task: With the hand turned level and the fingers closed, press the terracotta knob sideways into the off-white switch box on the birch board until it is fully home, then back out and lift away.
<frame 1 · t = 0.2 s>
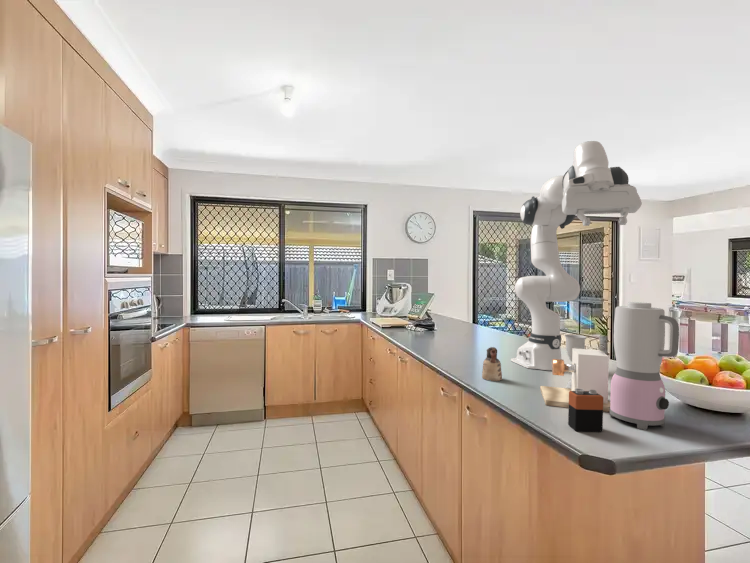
hand: (605, 224, 108), 54 cm above the worktop, tool tilted 25°, fingers open, 8 cm apart
knob: (569, 368, 121), point 10 cm above the worktop, slide at 0.0 cm
blender: (642, 424, 102), on the worktop
chalice: (574, 387, 135), on the worktop
switch box: (589, 374, 119), on the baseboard, point 8 cm above the worktop
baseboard: (574, 400, 120), on the worktop
figurine: (491, 379, 144), on the worktop
battery: (584, 429, 98), on the worktop
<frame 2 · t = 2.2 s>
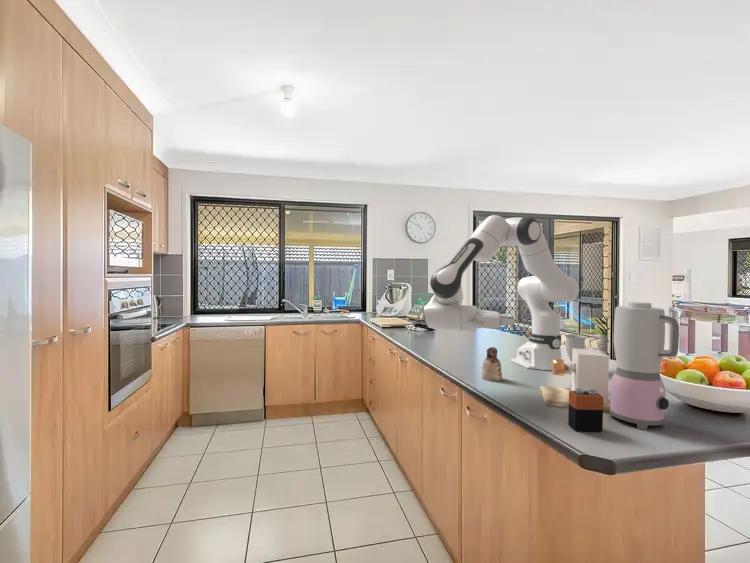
hand: (514, 320, 125), 24 cm above the worktop, tool horizontal, fingers open, 6 cm apart
nothing on the worktop moved.
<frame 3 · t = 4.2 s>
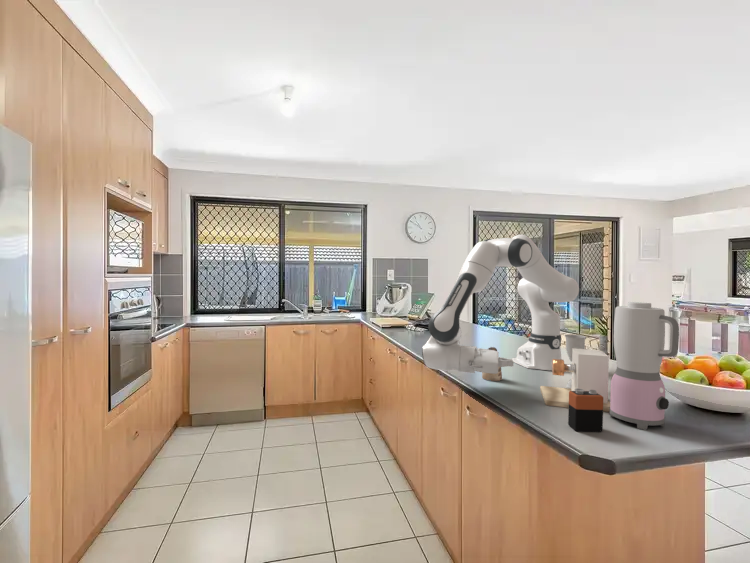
hand: (513, 363, 126), 10 cm above the worktop, tool horizontal, fingers closed
nothing on the worktop moved.
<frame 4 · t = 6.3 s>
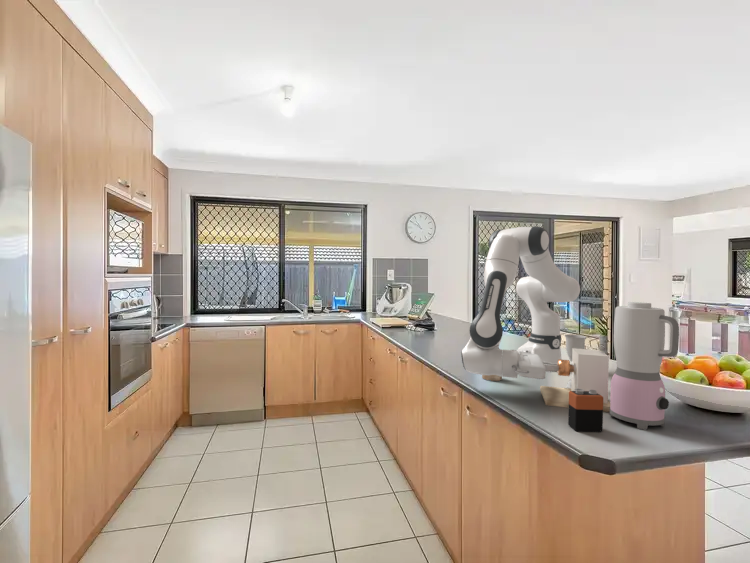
hand: (558, 367, 122), 10 cm above the worktop, tool horizontal, fingers closed, pressing on knob
knob: (574, 368, 120), point 10 cm above the worktop, slide at 1.6 cm, touching gripper
everything else where it was.
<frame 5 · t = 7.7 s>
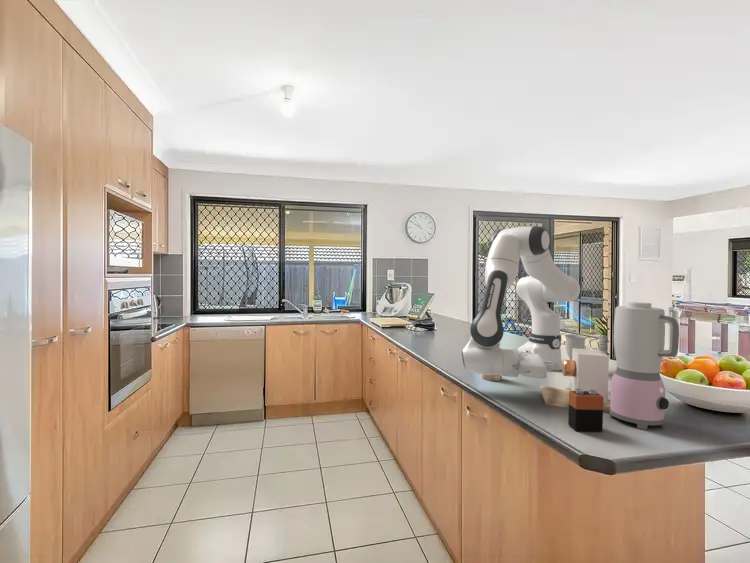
hand: (559, 367, 121), 10 cm above the worktop, tool horizontal, fingers closed
knob: (580, 369, 120), point 10 cm above the worktop, slide at 3.1 cm
everything else where it was.
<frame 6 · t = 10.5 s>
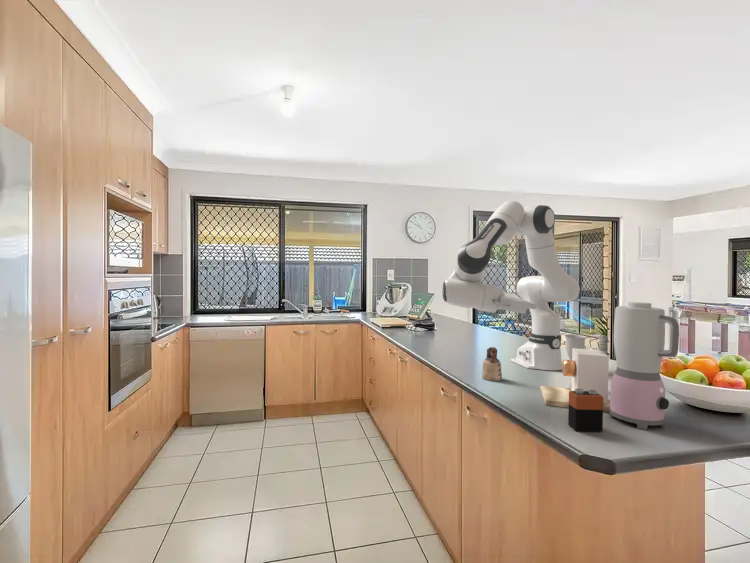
hand: (535, 306, 124), 29 cm above the worktop, tool horizontal, fingers closed
nothing on the worktop moved.
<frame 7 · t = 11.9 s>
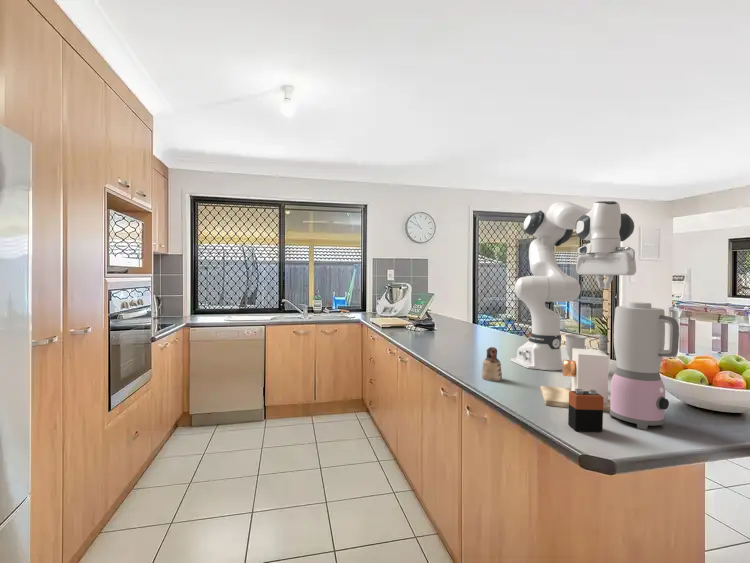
hand: (603, 288, 132), 35 cm above the worktop, tool pointing down, fingers closed
nothing on the worktop moved.
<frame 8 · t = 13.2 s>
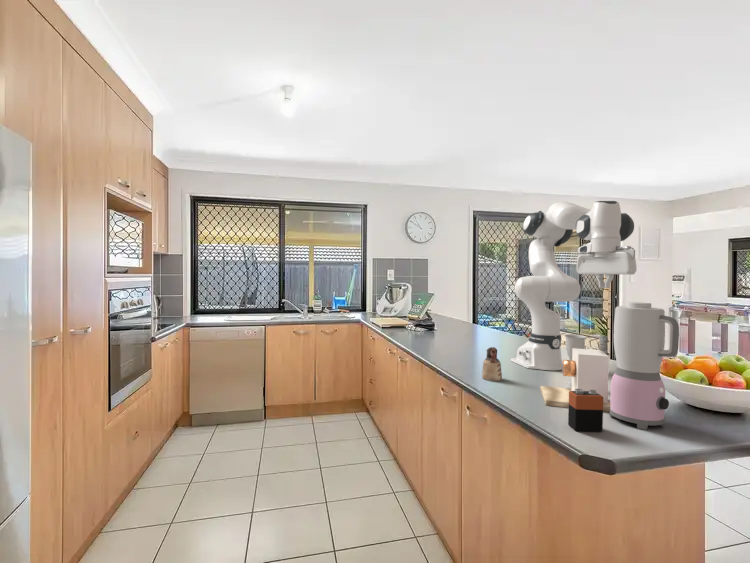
hand: (604, 287, 132), 35 cm above the worktop, tool pointing down, fingers closed
nothing on the worktop moved.
at the end: knob slide at 3.1 cm; chalice moved 0.2 cm from its start; battery moved 0.2 cm from its start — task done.
